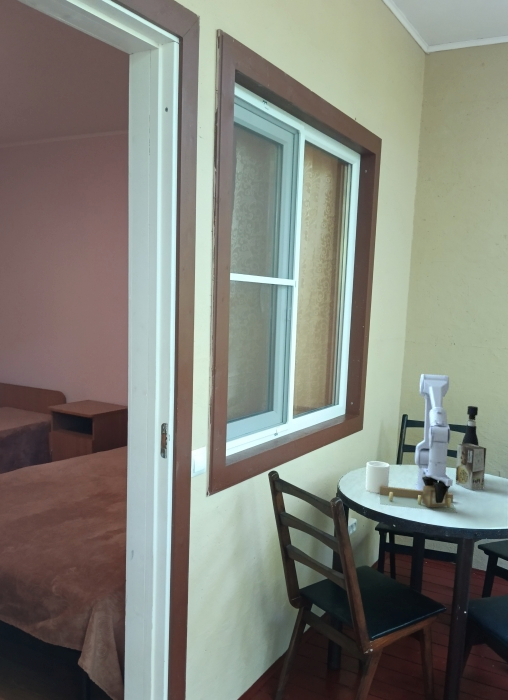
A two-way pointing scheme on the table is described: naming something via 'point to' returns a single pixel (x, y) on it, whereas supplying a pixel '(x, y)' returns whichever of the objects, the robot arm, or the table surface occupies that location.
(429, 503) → the frame
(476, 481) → the coffee box
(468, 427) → the wine bottle
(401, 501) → the board
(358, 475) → the table surface
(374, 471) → the mug
